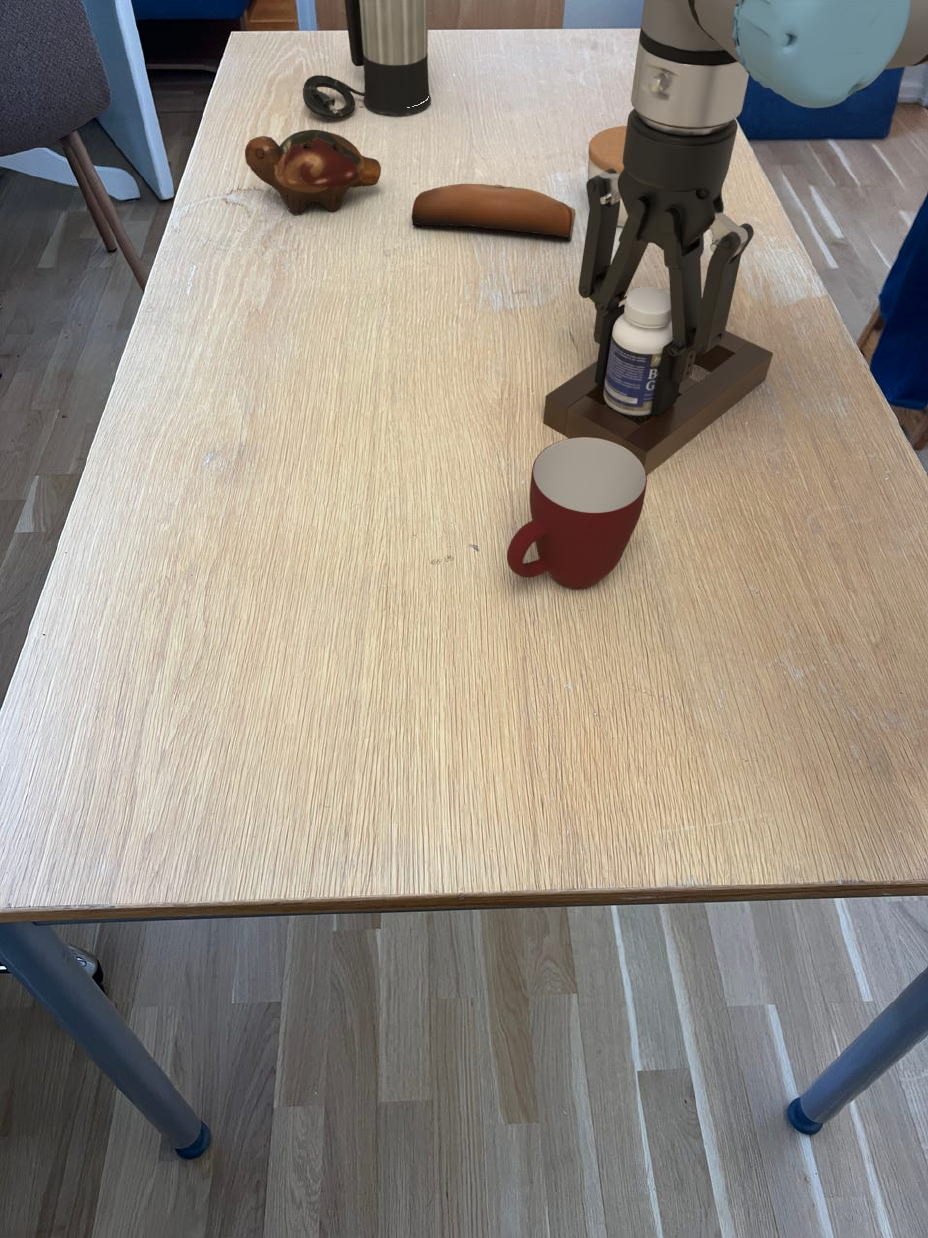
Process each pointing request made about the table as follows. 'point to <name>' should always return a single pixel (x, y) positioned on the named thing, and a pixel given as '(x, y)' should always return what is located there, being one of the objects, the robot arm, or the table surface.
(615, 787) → the table surface
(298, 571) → the table surface
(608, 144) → the trinket box
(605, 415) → the holder
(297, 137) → the decorative turtle
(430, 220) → the sunglasses case
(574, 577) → the mug
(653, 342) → the pill bottle
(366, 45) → the milk frother
